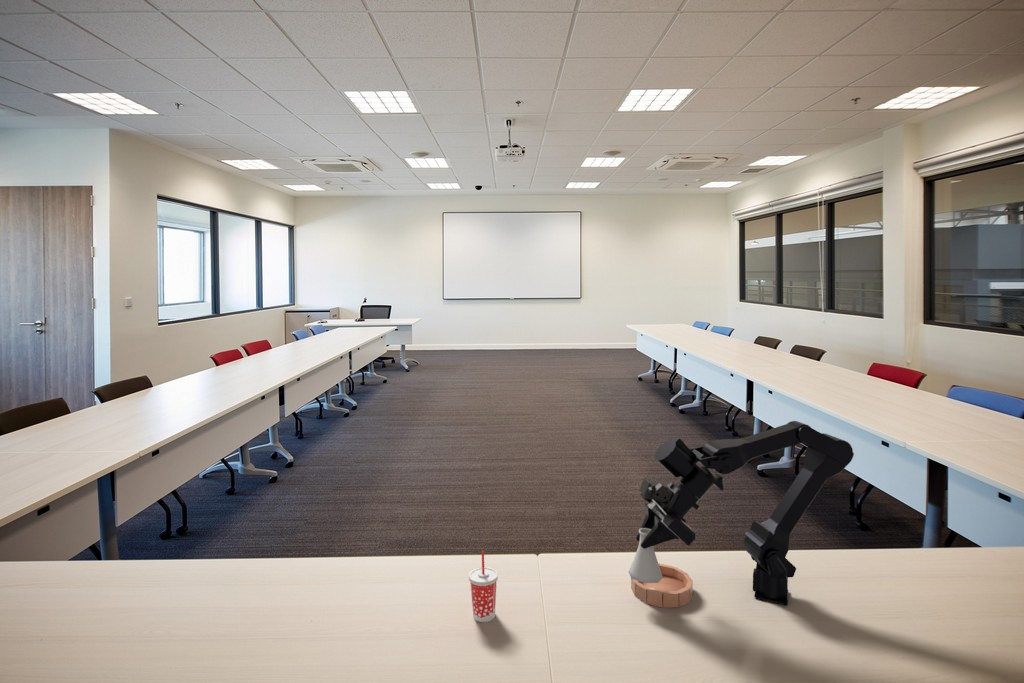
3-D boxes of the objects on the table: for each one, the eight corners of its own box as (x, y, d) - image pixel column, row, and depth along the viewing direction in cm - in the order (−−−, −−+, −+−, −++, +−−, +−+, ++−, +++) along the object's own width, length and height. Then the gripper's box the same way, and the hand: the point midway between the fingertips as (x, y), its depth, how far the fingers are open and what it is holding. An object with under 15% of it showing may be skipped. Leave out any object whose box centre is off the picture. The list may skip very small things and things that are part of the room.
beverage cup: (482, 603, 116) (480, 542, 115) (504, 613, 112) (503, 549, 111) (463, 617, 111) (462, 553, 110) (486, 627, 107) (485, 561, 106)
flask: (661, 587, 110) (662, 540, 109) (626, 581, 112) (627, 535, 112) (663, 570, 117) (664, 526, 116) (630, 565, 119) (631, 522, 118)
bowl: (696, 583, 122) (696, 571, 122) (685, 613, 111) (685, 599, 111) (640, 571, 128) (640, 559, 128) (624, 598, 117) (624, 585, 117)
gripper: (648, 453, 122) (602, 503, 122) (678, 480, 104) (625, 539, 104) (682, 484, 123) (636, 533, 124) (718, 517, 105) (665, 575, 105)
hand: (639, 543), depth 114 cm, fingers closed on flask, 3 cm apart
